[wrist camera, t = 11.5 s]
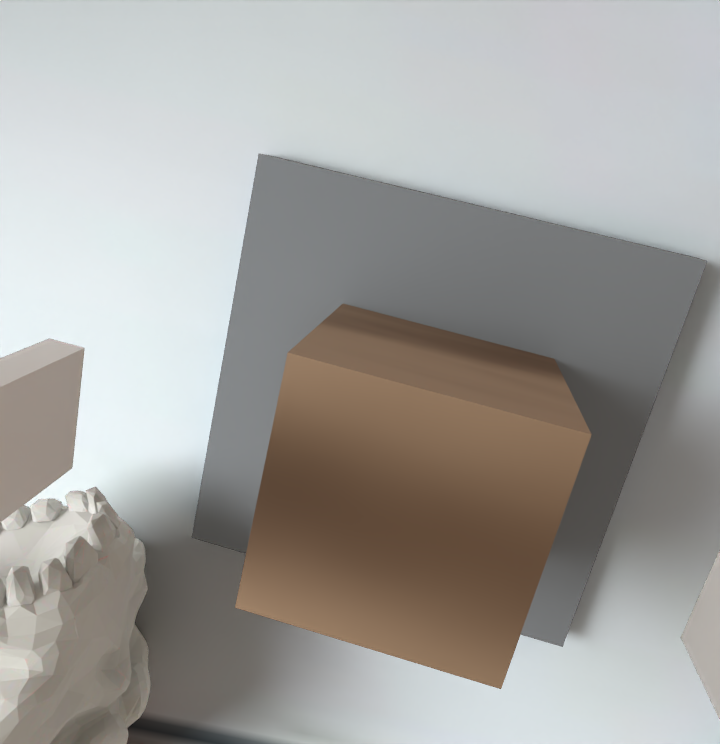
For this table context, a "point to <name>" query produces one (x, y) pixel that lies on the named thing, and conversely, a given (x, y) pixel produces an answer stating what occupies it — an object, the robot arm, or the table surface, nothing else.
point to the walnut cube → (412, 491)
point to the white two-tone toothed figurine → (71, 623)
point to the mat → (451, 313)
